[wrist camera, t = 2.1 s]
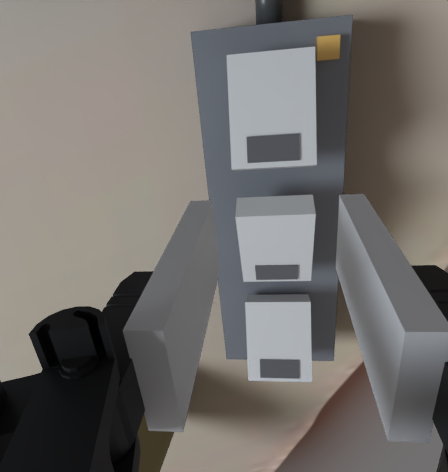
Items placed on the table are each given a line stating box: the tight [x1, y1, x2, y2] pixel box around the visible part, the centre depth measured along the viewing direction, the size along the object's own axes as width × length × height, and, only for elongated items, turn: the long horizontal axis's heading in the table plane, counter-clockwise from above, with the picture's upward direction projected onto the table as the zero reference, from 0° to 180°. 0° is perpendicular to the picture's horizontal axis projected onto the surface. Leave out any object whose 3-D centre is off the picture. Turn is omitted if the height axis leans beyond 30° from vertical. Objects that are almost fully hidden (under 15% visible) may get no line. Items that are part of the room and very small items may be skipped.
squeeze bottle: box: [138, 415, 174, 472], centre depth 33 cm, size 8×8×18 cm
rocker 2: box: [235, 195, 316, 282], centre depth 24 cm, size 6×5×2 cm
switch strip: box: [191, 0, 353, 361], centre depth 27 cm, size 28×9×5 cm, turn 5°
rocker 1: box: [226, 47, 317, 171], centre depth 21 cm, size 6×5×2 cm
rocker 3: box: [245, 294, 312, 382], centre depth 28 cm, size 6×5×2 cm
